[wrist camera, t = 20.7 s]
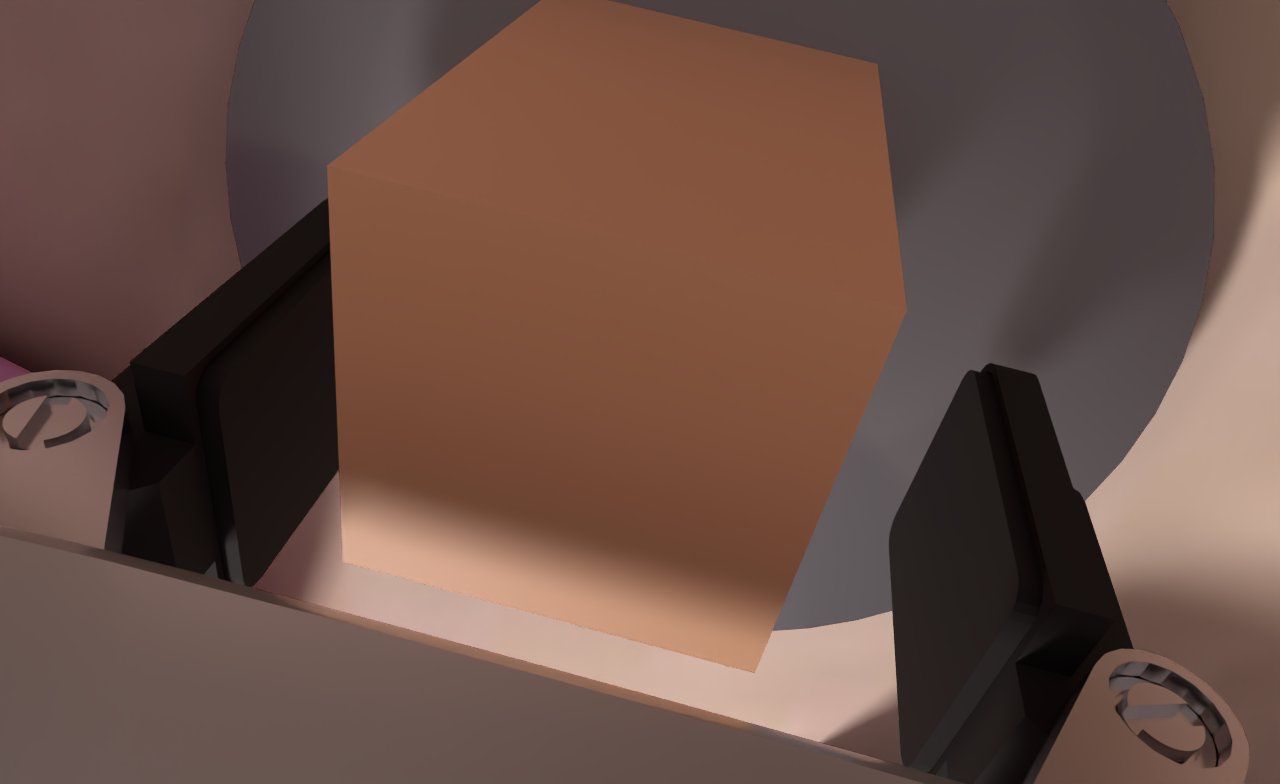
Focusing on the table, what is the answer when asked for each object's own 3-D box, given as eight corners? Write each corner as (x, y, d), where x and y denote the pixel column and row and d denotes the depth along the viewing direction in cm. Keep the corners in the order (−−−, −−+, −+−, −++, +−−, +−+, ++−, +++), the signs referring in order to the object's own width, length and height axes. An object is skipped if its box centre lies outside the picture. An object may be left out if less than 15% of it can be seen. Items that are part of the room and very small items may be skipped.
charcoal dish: (1279, 479, 14) (1306, 522, 13) (558, 650, 20) (546, 687, 19) (997, -633, 8) (1014, -679, 7) (85, 81, 14) (39, 100, 13)
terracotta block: (786, 337, 13) (754, 672, 8) (525, 271, 13) (341, 562, 8) (877, 63, 11) (906, 309, 6) (556, -12, 11) (326, 166, 6)
